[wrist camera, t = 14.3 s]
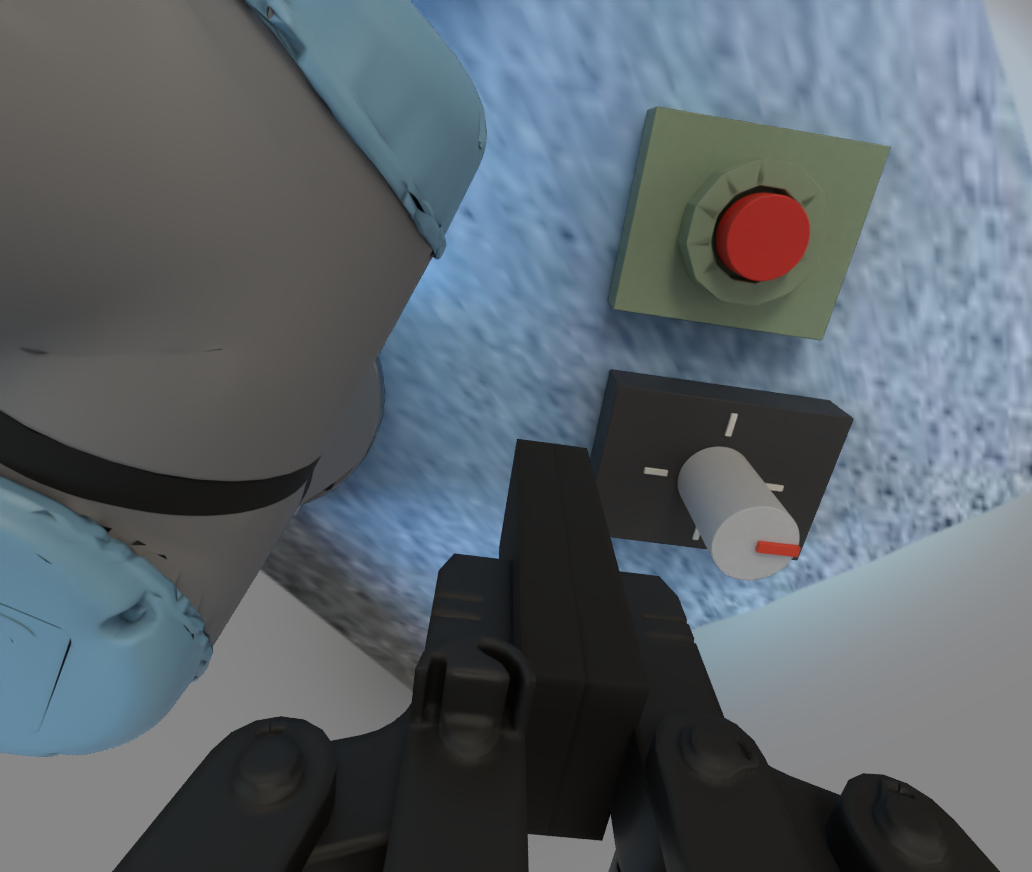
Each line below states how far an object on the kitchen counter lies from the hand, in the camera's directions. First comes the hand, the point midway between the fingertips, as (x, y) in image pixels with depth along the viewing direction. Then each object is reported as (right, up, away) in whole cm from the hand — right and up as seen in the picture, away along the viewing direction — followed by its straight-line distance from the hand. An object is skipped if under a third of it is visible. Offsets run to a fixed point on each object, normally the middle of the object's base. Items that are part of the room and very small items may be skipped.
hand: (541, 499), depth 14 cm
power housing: (+11, +13, +21) cm, 27 cm away
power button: (+11, +12, +18) cm, 24 cm away
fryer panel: (+11, 0, +27) cm, 29 cm away
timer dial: (+11, -1, +24) cm, 27 cm away
